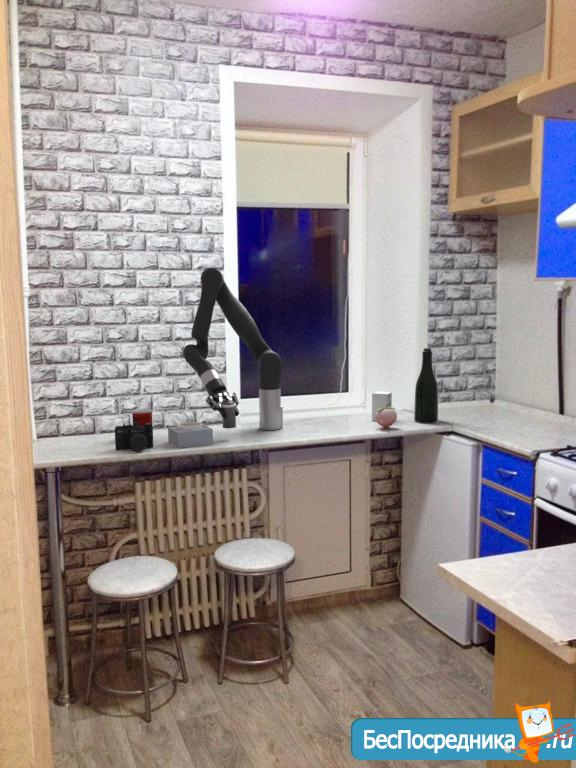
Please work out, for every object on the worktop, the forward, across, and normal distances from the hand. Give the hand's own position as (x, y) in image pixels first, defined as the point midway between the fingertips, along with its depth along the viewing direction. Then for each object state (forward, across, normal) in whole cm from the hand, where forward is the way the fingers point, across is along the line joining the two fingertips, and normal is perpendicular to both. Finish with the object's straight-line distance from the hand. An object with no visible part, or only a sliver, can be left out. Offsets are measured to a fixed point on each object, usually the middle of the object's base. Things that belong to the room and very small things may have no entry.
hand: (231, 415), depth 266 cm
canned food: (-14, -23, +27) cm, 39 cm away
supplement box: (+17, +75, -1) cm, 77 cm away
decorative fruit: (+27, +61, -11) cm, 68 cm away
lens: (+2, 0, +5) cm, 5 cm away
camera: (-1, -37, +14) cm, 40 cm away
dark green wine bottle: (+29, +86, -12) cm, 92 cm away
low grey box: (+2, -16, +11) cm, 19 cm away
